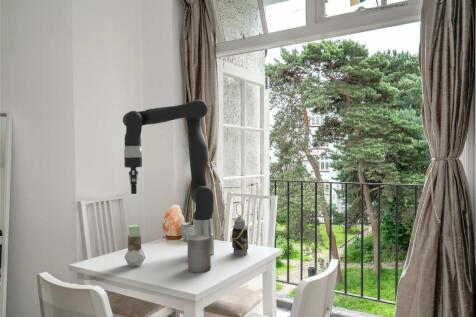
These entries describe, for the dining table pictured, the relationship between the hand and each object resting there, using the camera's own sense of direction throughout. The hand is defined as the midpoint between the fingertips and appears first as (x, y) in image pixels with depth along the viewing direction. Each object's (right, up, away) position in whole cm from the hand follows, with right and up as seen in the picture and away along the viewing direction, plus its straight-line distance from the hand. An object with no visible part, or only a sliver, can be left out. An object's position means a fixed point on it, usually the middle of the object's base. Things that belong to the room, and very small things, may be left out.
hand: (133, 193), depth 156 cm
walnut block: (0, -25, 0) cm, 25 cm away
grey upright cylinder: (+30, -32, -7) cm, 44 cm away
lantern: (+47, -31, +15) cm, 59 cm away
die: (+1, -32, 0) cm, 32 cm away
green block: (0, -19, 0) cm, 19 cm away
